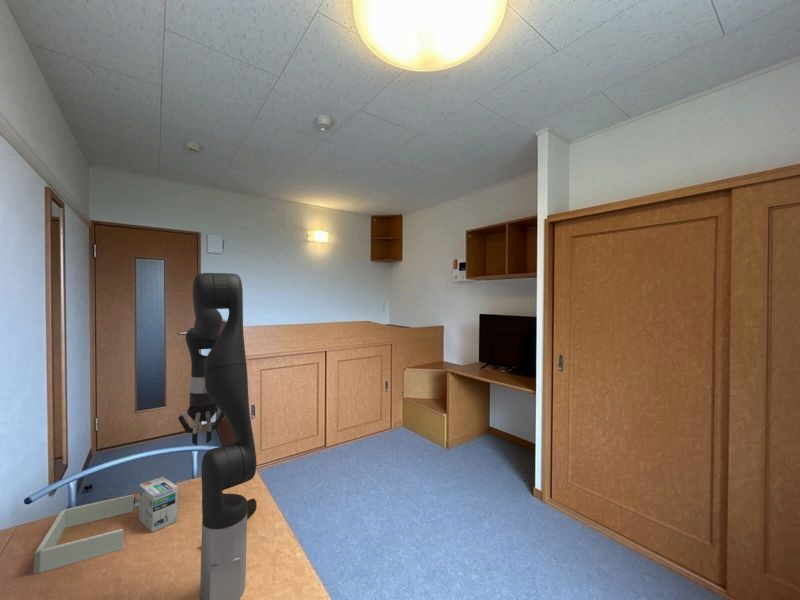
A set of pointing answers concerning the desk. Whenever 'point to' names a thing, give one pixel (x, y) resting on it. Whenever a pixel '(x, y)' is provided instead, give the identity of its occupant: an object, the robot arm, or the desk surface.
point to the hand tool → (251, 507)
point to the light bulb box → (158, 503)
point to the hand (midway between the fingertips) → (201, 443)
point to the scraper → (136, 502)
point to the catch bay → (87, 547)
